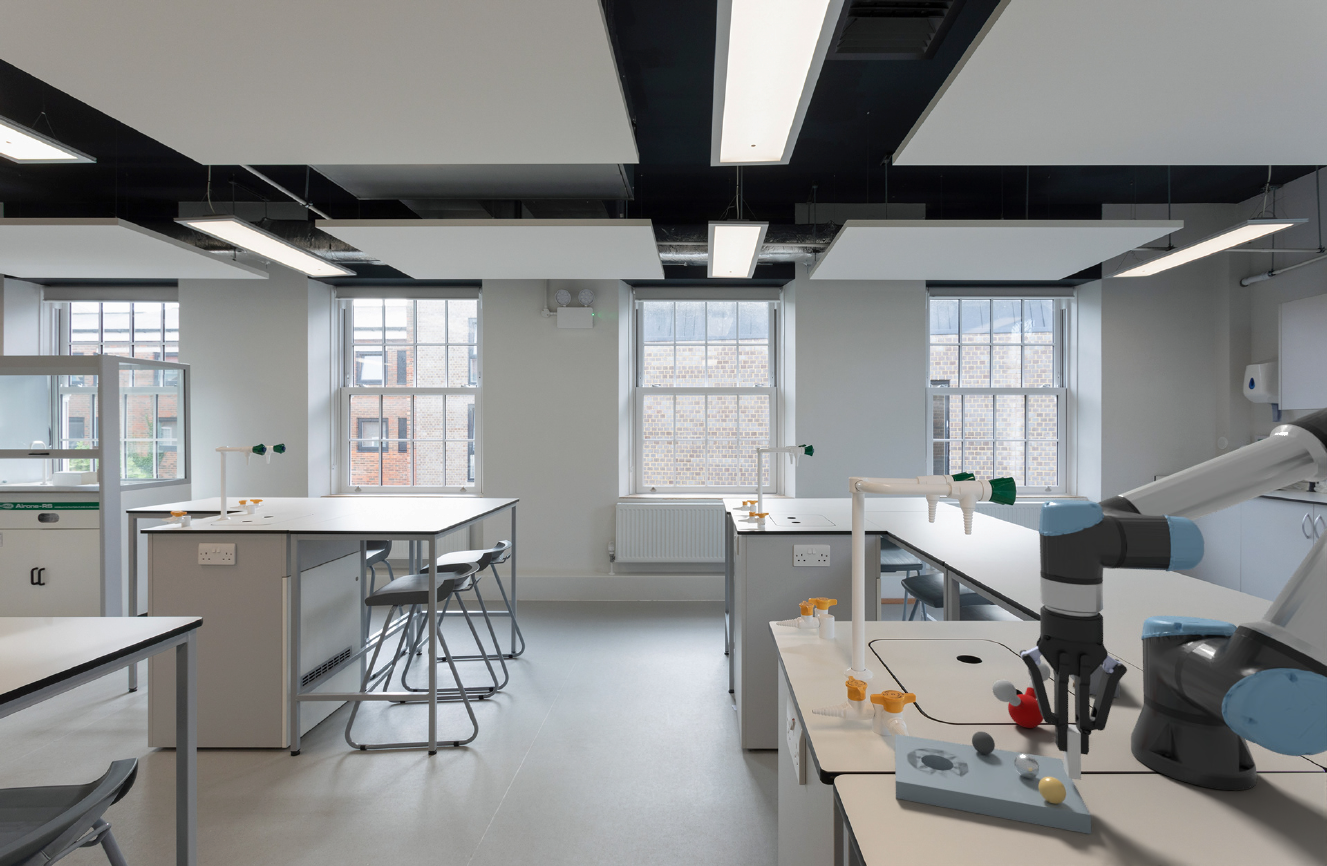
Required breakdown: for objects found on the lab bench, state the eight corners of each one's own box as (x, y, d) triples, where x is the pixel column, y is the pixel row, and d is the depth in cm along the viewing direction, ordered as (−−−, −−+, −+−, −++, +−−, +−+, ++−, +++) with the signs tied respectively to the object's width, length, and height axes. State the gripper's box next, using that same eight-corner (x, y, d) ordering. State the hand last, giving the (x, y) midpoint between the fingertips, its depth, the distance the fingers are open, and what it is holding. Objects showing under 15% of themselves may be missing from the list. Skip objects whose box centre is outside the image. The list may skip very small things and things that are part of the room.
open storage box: (1094, 668, 138) (1094, 642, 138) (1119, 697, 123) (1119, 667, 123) (1062, 665, 140) (1062, 639, 140) (1083, 693, 125) (1082, 663, 125)
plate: (1061, 775, 95) (1061, 758, 95) (1091, 834, 81) (1090, 815, 81) (895, 748, 103) (895, 733, 103) (895, 798, 89) (895, 780, 89)
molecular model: (1022, 706, 119) (1022, 654, 119) (1057, 716, 115) (1057, 662, 115) (989, 736, 107) (989, 679, 107) (1027, 749, 103) (1026, 689, 103)
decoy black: (993, 749, 98) (993, 729, 98) (996, 759, 95) (996, 738, 95) (970, 746, 99) (970, 726, 99) (973, 756, 96) (973, 735, 96)
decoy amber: (1063, 797, 85) (1062, 774, 85) (1069, 810, 82) (1068, 786, 82) (1036, 793, 86) (1036, 770, 86) (1041, 806, 83) (1041, 782, 83)
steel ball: (1037, 773, 91) (1036, 751, 91) (1041, 784, 88) (1041, 762, 88) (1012, 769, 92) (1012, 747, 92) (1016, 780, 89) (1016, 758, 89)
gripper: (1116, 606, 89) (1117, 769, 89) (1014, 598, 94) (1015, 753, 94) (1135, 620, 82) (1136, 797, 82) (1024, 611, 87) (1025, 779, 87)
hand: (1072, 773), depth 88 cm, fingers closed
